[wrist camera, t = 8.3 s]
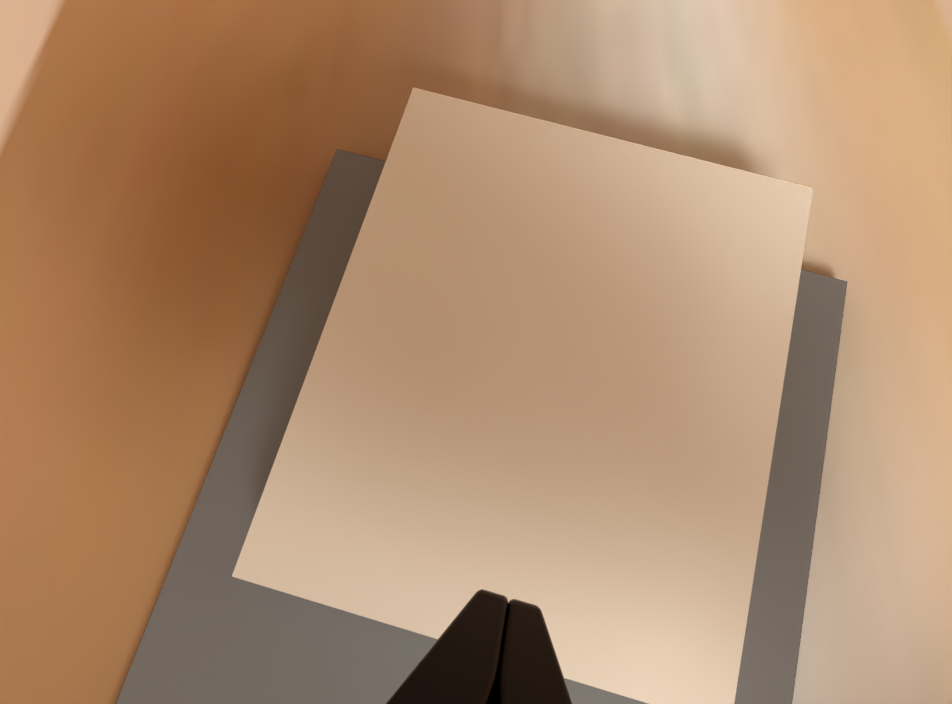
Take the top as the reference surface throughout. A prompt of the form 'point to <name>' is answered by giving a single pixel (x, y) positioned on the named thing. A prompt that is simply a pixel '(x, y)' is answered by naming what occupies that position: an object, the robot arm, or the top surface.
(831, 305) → the mat
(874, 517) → the top surface
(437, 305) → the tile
